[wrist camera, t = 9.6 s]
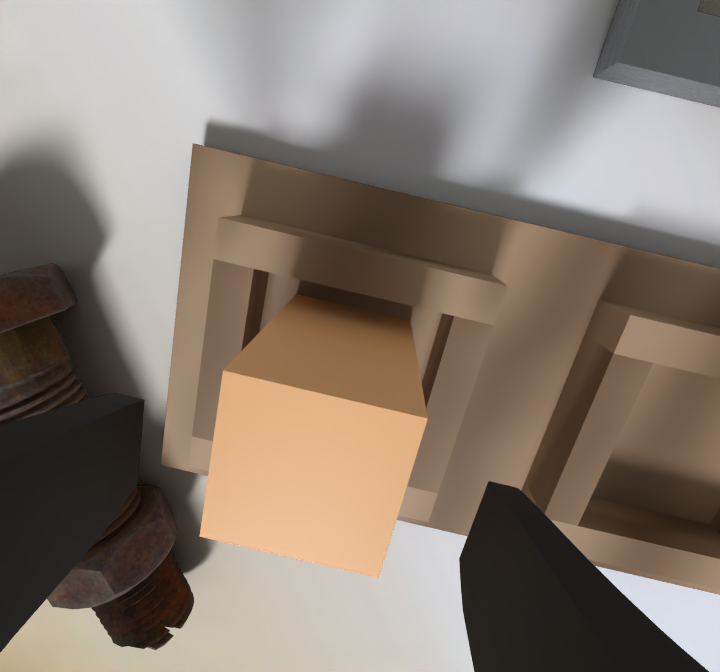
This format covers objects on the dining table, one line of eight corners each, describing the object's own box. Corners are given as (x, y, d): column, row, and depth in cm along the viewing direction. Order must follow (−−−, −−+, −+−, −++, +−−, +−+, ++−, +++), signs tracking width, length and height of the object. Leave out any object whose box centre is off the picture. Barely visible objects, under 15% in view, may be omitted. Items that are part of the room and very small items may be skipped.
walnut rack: (904, 312, 15) (1017, 338, 12) (732, 584, 18) (791, 649, 16) (203, 146, 15) (161, 134, 12) (170, 453, 18) (132, 497, 16)
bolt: (182, 555, 22) (33, 271, 18) (248, 583, 19) (89, 250, 15) (64, 667, 18) (-173, 328, 13) (125, 725, 15) (-153, 316, 10)
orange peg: (410, 321, 15) (427, 418, 8) (382, 422, 16) (378, 577, 10) (296, 293, 15) (223, 370, 8) (277, 397, 16) (199, 536, 10)
